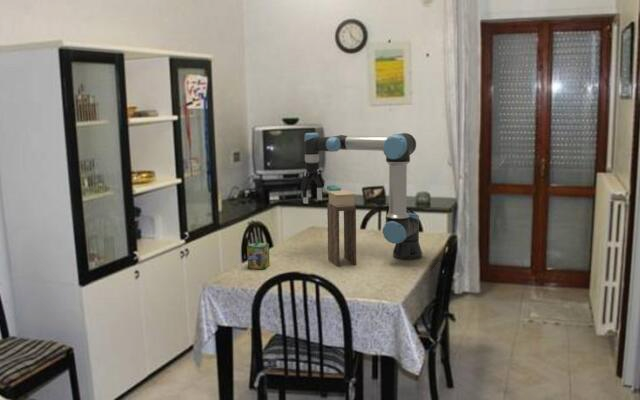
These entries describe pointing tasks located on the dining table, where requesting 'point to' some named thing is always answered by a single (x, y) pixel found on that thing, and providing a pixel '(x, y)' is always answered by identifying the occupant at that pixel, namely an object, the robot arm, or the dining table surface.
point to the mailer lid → (338, 191)
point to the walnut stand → (348, 233)
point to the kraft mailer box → (341, 200)
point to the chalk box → (258, 255)
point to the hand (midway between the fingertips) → (312, 201)
